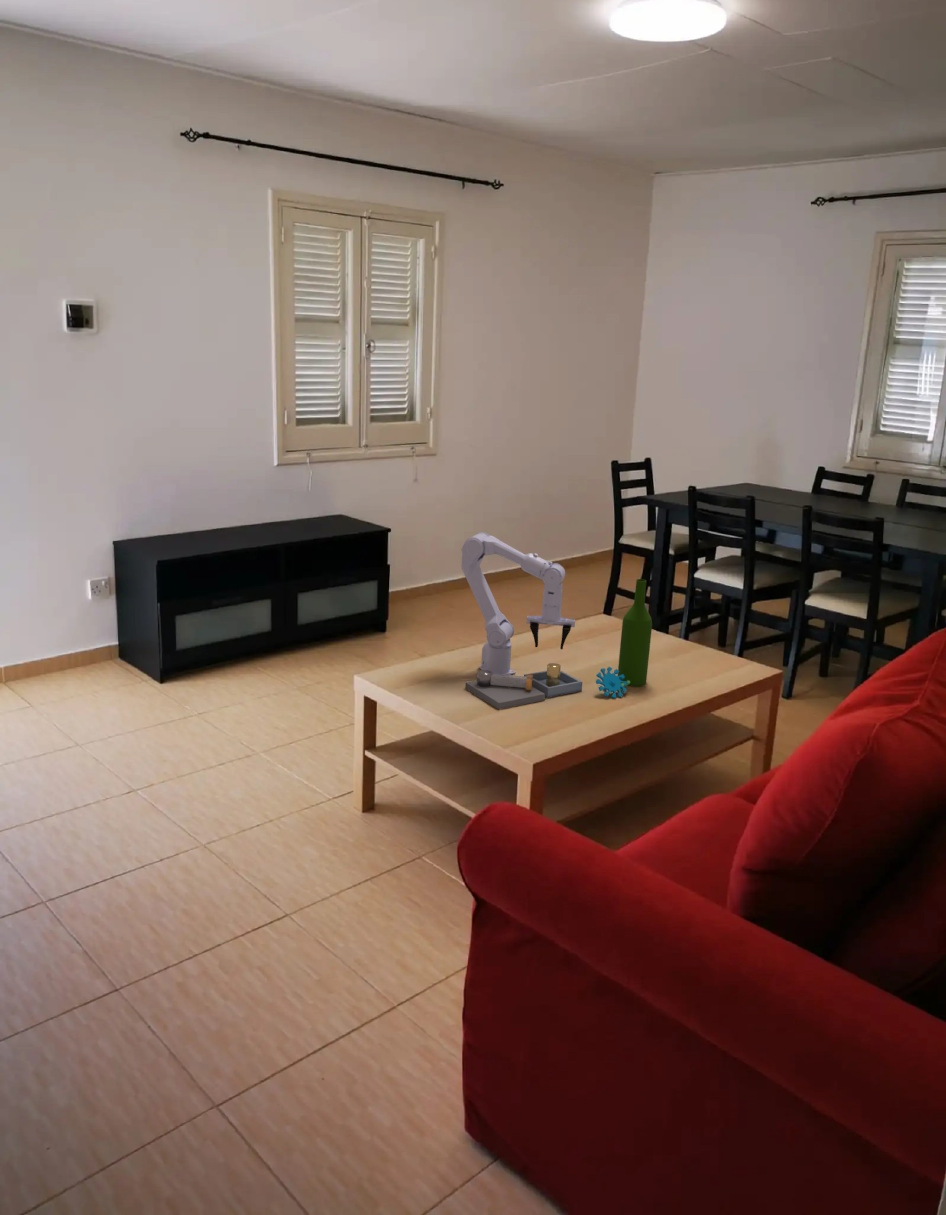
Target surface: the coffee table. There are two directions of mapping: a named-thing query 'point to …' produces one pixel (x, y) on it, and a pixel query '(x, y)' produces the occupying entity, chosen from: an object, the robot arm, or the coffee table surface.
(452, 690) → the coffee table surface
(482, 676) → the lever
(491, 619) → the robot arm
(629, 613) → the wine bottle
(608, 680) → the blue spiky round piece
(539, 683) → the tray
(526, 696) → the crank plate
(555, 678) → the pin
